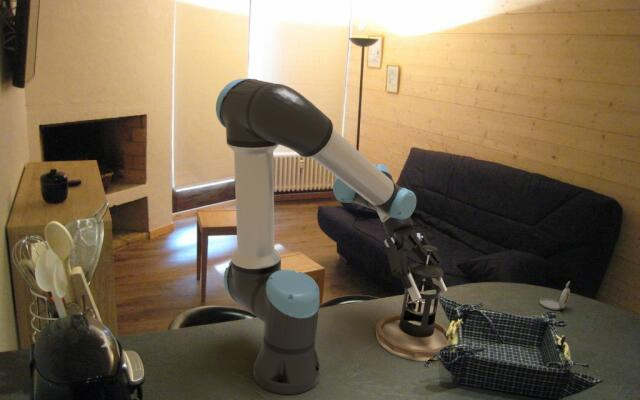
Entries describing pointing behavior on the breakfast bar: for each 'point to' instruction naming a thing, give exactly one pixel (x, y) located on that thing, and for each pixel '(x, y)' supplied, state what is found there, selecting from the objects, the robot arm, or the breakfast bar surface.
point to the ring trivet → (410, 339)
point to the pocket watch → (554, 304)
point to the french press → (421, 308)
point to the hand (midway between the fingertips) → (430, 296)
